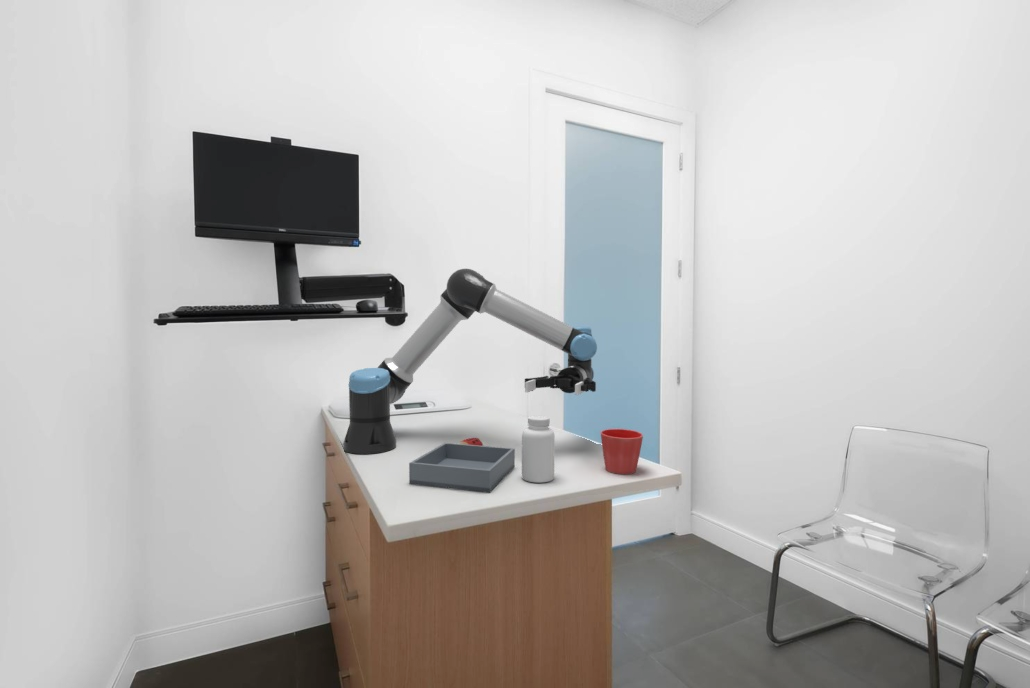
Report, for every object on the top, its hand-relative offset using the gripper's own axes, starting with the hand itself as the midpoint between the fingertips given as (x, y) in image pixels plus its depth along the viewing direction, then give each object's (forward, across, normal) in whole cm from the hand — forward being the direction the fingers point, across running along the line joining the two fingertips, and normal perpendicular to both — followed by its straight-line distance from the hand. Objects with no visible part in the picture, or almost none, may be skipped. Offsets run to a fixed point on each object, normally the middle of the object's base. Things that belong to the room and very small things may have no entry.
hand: (550, 388), depth 130 cm
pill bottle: (+10, 0, -21) cm, 23 cm away
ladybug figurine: (-7, +27, -21) cm, 35 cm away
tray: (+14, +18, -21) cm, 31 cm away
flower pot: (-5, -18, -21) cm, 28 cm away
